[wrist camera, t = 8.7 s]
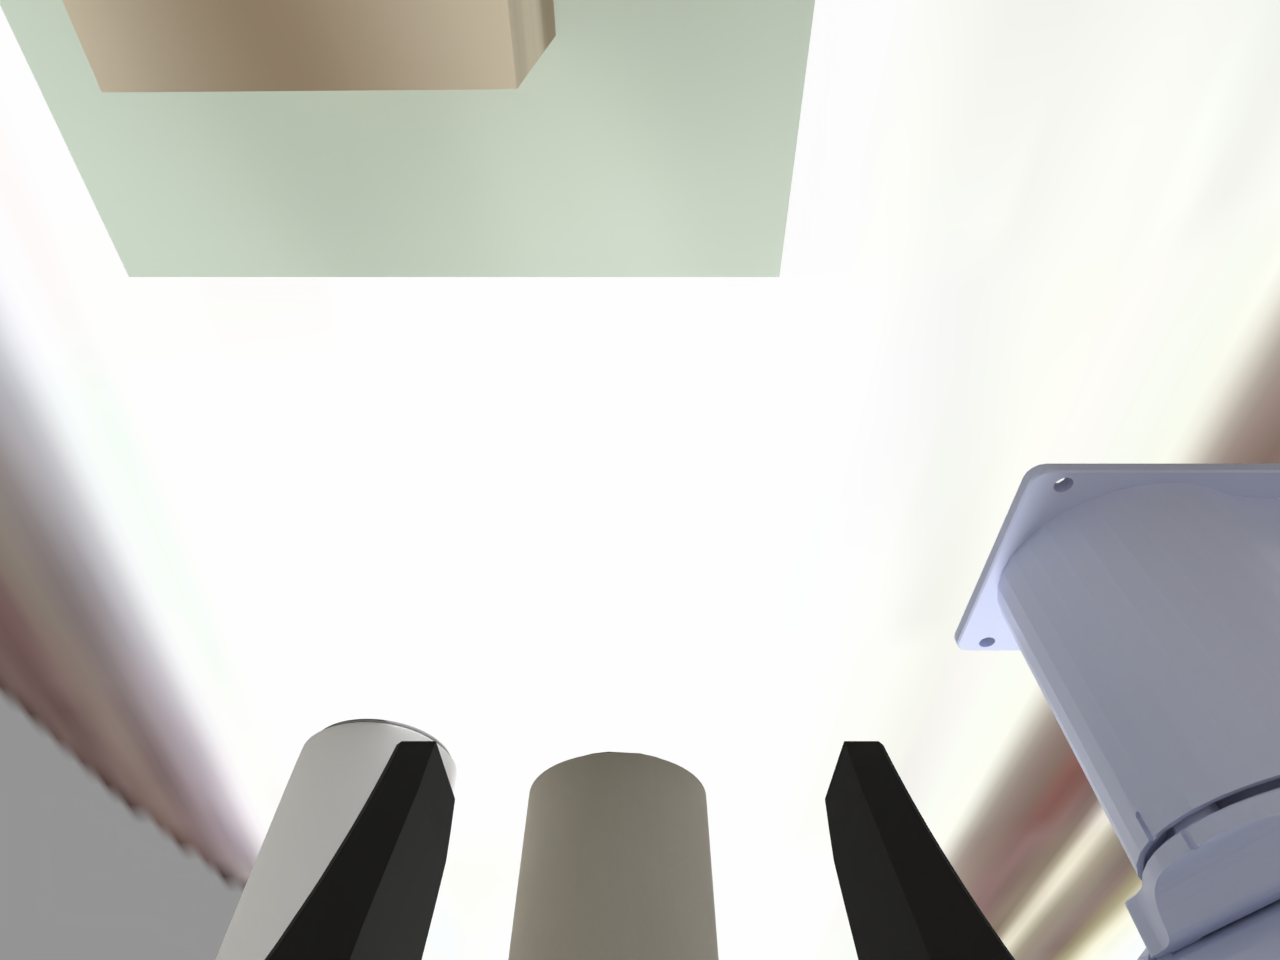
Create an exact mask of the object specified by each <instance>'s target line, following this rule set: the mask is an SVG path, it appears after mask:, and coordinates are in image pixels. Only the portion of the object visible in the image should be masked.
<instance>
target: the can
mask: <svg viewBox="0 0 1280 960" xmlns="http://www.w3.org/2000/svg"><path fill="white" fill-rule="evenodd" d="M401 741H436V743H437V746H438V749H439V752H440V755H441V758H442V761H443V764H444V767H445V770H446V773H447V776H448V779H449V782H450V785H451V788H452V791H453V793H454V788H455V782H456V776H457V769H456V765H455V763H454V761H453V759H452V757H451V755H450V753H449V752H448V750H447V749H446V747H445V746H444V745H443V744H442V743H441V742H440V741H438V740H437V739H436V738H434V737H433V736H431V735H430V734H428V733H426V732H424V731H422V730H420V729H417V728H415V727H412V726H409V725H406V724H402V723H398V722H394V721H388V720H381V719H354V720H347V721H342V722H338V723H335V724H333V725H330V726H328V727H326V728H325V729H323V730H322V731H320V732H318V733H316V734H315V735H313V736H312V737H310V738H309V739H308V740H307V742H306V743H305V744H304V746H303V748H302V750H301V753H300V755H299V757H298V759H297V762H296V764H295V766H294V769H293V771H292V774H291V776H290V778H289V781H288V783H287V786H286V788H285V790H284V793H283V795H282V798H281V800H280V803H279V805H278V807H277V810H276V812H275V815H274V817H273V820H272V822H271V824H270V827H269V829H268V832H267V834H266V837H265V839H264V842H263V844H262V846H261V849H260V851H259V854H258V856H257V859H256V861H255V864H254V866H253V868H252V871H251V873H250V876H249V878H248V881H247V883H246V886H245V888H244V890H243V893H242V895H241V898H240V900H239V903H238V905H237V908H236V910H235V913H234V915H233V917H232V920H231V922H230V925H229V927H228V930H227V932H226V935H225V937H224V940H223V942H222V945H221V947H220V950H219V952H218V954H217V957H216V959H215V960H265V958H266V957H267V956H268V954H269V953H270V951H271V950H272V949H273V947H274V946H275V944H276V943H277V942H278V940H279V939H280V937H281V936H282V934H283V933H284V931H285V930H286V928H287V927H288V925H289V924H290V922H291V921H292V919H293V918H294V917H295V915H296V914H297V912H298V911H299V909H300V908H301V906H302V905H303V903H304V902H305V900H306V899H307V897H308V896H309V894H310V893H311V891H312V890H313V888H314V887H315V885H316V884H317V882H318V881H319V879H320V877H321V876H322V874H323V873H324V871H325V869H326V868H327V866H328V865H329V863H330V861H331V860H332V858H333V856H334V855H335V853H336V852H337V850H338V848H339V847H340V845H341V843H342V842H343V840H344V839H345V837H346V835H347V834H348V832H349V830H350V829H351V827H352V825H353V824H354V822H355V820H356V818H357V817H358V815H359V813H360V812H361V810H362V808H363V806H364V805H365V803H366V801H367V799H368V798H369V796H370V794H371V792H372V790H373V789H374V787H375V785H376V783H377V781H378V779H379V778H380V776H381V774H382V772H383V770H384V768H385V766H386V764H387V763H388V761H389V759H390V757H391V755H392V753H393V751H394V749H395V747H396V745H397V744H398V743H400V742H401Z"/></svg>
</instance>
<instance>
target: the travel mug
mask: <svg viewBox="0 0 1280 960" xmlns="http://www.w3.org/2000/svg"><path fill="white" fill-rule="evenodd" d="M508 960H719V958H718V945H717V932H716V918H715V905H714V892H713V879H712V866H711V852H710V839H709V826H708V813H707V799H706V792H705V789H704V787H703V785H702V783H701V782H700V781H699V780H698V778H697V777H695V776H694V775H693V774H692V773H691V772H689V771H688V770H686V769H684V768H683V767H681V766H679V765H677V764H674V763H672V762H669V761H666V760H663V759H660V758H657V757H654V756H650V755H645V754H641V753H625V752H601V753H592V754H589V755H585V756H580V757H576V758H572V759H569V760H566V761H563V762H561V763H558V764H556V765H554V766H552V767H550V768H549V769H547V770H546V771H544V772H543V773H542V774H540V775H539V776H538V777H537V778H536V780H535V781H534V782H533V784H532V786H531V788H530V792H529V800H528V808H527V816H526V824H525V832H524V840H523V847H522V855H521V863H520V871H519V879H518V887H517V895H516V903H515V911H514V918H513V926H512V934H511V942H510V950H509V958H508Z"/></svg>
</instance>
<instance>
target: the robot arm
mask: <svg viewBox="0 0 1280 960" xmlns="http://www.w3.org/2000/svg"><path fill="white" fill-rule="evenodd" d="M1063 478H1065V479H1064V480H1062V481H1061V482H1059V483H1056V482H1057V481H1059V480H1060V479H1063ZM954 639H955V641H956V643H957V645H958V647H959V648H961V649H963V650H1020V651H1021V652H1022V654H1023V656H1024V658H1025V660H1026V662H1027V664H1028V666H1029V668H1030V670H1031V672H1032V674H1033V675H1034V677H1035V679H1036V681H1037V683H1038V685H1039V687H1040V689H1041V691H1042V693H1043V695H1044V697H1045V699H1046V700H1047V702H1048V704H1049V706H1050V708H1051V710H1052V712H1053V714H1054V716H1055V718H1056V720H1057V722H1058V724H1059V725H1060V727H1061V729H1062V731H1063V733H1064V735H1065V737H1066V739H1067V741H1068V743H1069V745H1070V747H1071V748H1072V750H1073V752H1074V754H1075V756H1076V758H1077V760H1078V762H1079V764H1080V766H1081V768H1082V770H1083V772H1084V773H1085V775H1086V777H1087V779H1088V781H1089V783H1090V785H1091V787H1092V789H1093V791H1094V793H1095V795H1096V796H1097V798H1098V800H1099V802H1100V804H1101V806H1102V808H1103V810H1104V812H1105V814H1106V816H1107V818H1108V820H1109V821H1110V823H1111V825H1112V827H1113V829H1114V831H1115V833H1116V835H1117V837H1118V839H1119V841H1120V843H1121V844H1122V846H1123V848H1124V850H1125V852H1126V854H1127V856H1128V858H1129V860H1130V862H1131V864H1132V866H1133V868H1134V869H1135V871H1136V873H1137V875H1138V877H1139V878H1140V879H1141V880H1142V887H1141V889H1140V890H1139V891H1138V892H1137V893H1136V894H1135V895H1134V896H1132V897H1131V898H1129V899H1128V900H1127V901H1126V902H1125V905H1126V907H1127V909H1128V911H1129V914H1130V916H1131V918H1132V920H1133V922H1134V924H1135V926H1136V928H1137V930H1138V932H1139V934H1140V936H1141V938H1142V940H1143V942H1144V944H1145V946H1146V948H1145V950H1144V951H1143V952H1142V954H1141V955H1140V956H1139V958H1138V959H1137V960H1280V464H1040V465H1037V466H1035V467H1033V468H1031V469H1030V470H1029V471H1027V472H1026V474H1025V475H1024V477H1023V479H1022V481H1021V483H1020V485H1019V488H1018V490H1017V492H1016V495H1015V497H1014V499H1013V502H1012V504H1011V506H1010V508H1009V511H1008V513H1007V515H1006V518H1005V520H1004V522H1003V524H1002V527H1001V529H1000V531H999V534H998V536H997V538H996V540H995V543H994V545H993V547H992V550H991V552H990V554H989V557H988V559H987V561H986V563H985V566H984V568H983V570H982V573H981V575H980V577H979V579H978V582H977V584H976V586H975V589H974V591H973V593H972V595H971V598H970V600H969V602H968V605H967V607H966V609H965V612H964V614H963V616H962V618H961V621H960V623H959V625H958V628H957V630H956V632H955V635H954ZM454 804H455V797H454V794H453V791H452V788H451V785H450V782H449V779H448V776H447V773H446V770H445V767H444V764H443V761H442V758H441V755H440V752H439V749H438V746H437V743H436V741H401V742H400V743H398V744H397V745H396V747H395V749H394V751H393V753H392V755H391V757H390V759H389V761H388V763H387V764H386V766H385V768H384V770H383V772H382V774H381V776H380V778H379V779H378V781H377V783H376V785H375V787H374V789H373V790H372V792H371V794H370V796H369V798H368V799H367V801H366V803H365V805H364V806H363V808H362V810H361V812H360V813H359V815H358V817H357V818H356V820H355V822H354V824H353V825H352V827H351V829H350V830H349V832H348V834H347V835H346V837H345V839H344V840H343V842H342V843H341V845H340V847H339V848H338V850H337V852H336V853H335V855H334V856H333V858H332V860H331V861H330V863H329V865H328V866H327V868H326V869H325V871H324V873H323V874H322V876H321V877H320V879H319V881H318V882H317V884H316V885H315V887H314V888H313V890H312V891H311V893H310V894H309V896H308V897H307V899H306V900H305V902H304V903H303V905H302V906H301V908H300V909H299V911H298V912H297V914H296V915H295V917H294V918H293V919H292V921H291V922H290V924H289V925H288V927H287V928H286V930H285V931H284V933H283V934H282V936H281V937H280V939H279V940H278V942H277V943H276V944H275V946H274V947H273V949H272V950H271V951H270V953H269V954H268V956H267V957H266V958H265V960H422V956H423V952H424V948H425V944H426V940H427V937H428V933H429V929H430V925H431V921H432V917H433V913H434V909H435V905H436V901H437V897H438V892H439V888H440V884H441V880H442V876H443V872H444V868H445V864H446V859H447V852H448V846H449V839H450V833H451V826H452V818H453V811H454ZM825 804H826V811H827V818H828V826H829V833H830V839H831V846H832V852H833V859H834V864H835V868H836V872H837V876H838V880H839V884H840V888H841V892H842V897H843V901H844V905H845V909H846V913H847V917H848V921H849V925H850V929H851V933H852V937H853V940H854V944H855V948H856V952H857V956H858V960H1015V959H1014V957H1013V956H1012V955H1011V953H1010V952H1009V950H1008V949H1007V948H1006V946H1005V945H1004V943H1003V942H1002V940H1001V939H1000V938H999V936H998V935H997V933H996V932H995V930H994V929H993V927H992V926H991V924H990V923H989V922H988V920H987V919H986V917H985V916H984V914H983V913H982V911H981V910H980V908H979V907H978V905H977V904H976V902H975V901H974V899H973V898H972V896H971V895H970V893H969V892H968V890H967V889H966V887H965V886H964V884H963V882H962V881H961V879H960V878H959V876H958V874H957V873H956V871H955V870H954V868H953V866H952V865H951V863H950V862H949V860H948V859H947V857H946V855H945V854H944V852H943V851H942V849H941V847H940V846H939V844H938V842H937V841H936V839H935V837H934V836H933V834H932V832H931V831H930V829H929V827H928V826H927V824H926V822H925V821H924V819H923V817H922V815H921V814H920V812H919V810H918V808H917V807H916V805H915V803H914V801H913V800H912V798H911V796H910V794H909V793H908V791H907V789H906V787H905V785H904V783H903V782H902V780H901V778H900V776H899V774H898V772H897V770H896V769H895V767H894V765H893V763H892V761H891V759H890V757H889V755H888V753H887V751H886V749H885V747H884V745H883V744H882V743H880V742H879V741H844V743H843V746H842V749H841V752H840V755H839V758H838V761H837V764H836V767H835V770H834V773H833V776H832V779H831V782H830V785H829V788H828V791H827V794H826V797H825Z"/></svg>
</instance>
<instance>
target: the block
mask: <svg viewBox="0 0 1280 960" xmlns="http://www.w3.org/2000/svg"><path fill="white" fill-rule="evenodd" d="M62 1H63V4H64V6H65V8H66V11H67V13H68V15H69V17H70V20H71V22H72V24H73V27H74V29H75V31H76V34H77V36H78V38H79V41H80V43H81V45H82V48H83V50H84V52H85V54H86V57H87V59H88V61H89V64H90V66H91V68H92V71H93V73H94V75H95V78H96V80H97V82H98V85H99V87H100V89H101V91H102V93H116V92H242V91H367V90H492V89H517V88H518V87H519V86H520V84H521V83H522V81H523V80H524V79H525V77H526V76H527V75H528V73H529V72H530V70H531V69H532V68H533V66H534V65H535V64H536V62H537V61H538V59H539V58H540V57H541V55H542V54H543V53H544V51H545V50H546V48H547V47H548V46H549V44H550V43H551V42H552V40H553V39H554V37H555V36H556V30H555V16H554V1H553V0H62Z"/></svg>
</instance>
